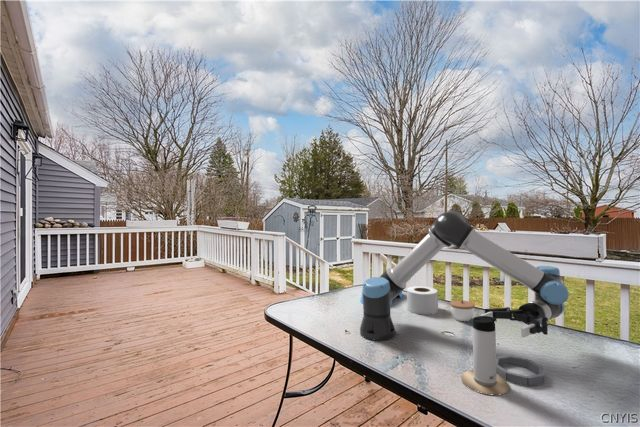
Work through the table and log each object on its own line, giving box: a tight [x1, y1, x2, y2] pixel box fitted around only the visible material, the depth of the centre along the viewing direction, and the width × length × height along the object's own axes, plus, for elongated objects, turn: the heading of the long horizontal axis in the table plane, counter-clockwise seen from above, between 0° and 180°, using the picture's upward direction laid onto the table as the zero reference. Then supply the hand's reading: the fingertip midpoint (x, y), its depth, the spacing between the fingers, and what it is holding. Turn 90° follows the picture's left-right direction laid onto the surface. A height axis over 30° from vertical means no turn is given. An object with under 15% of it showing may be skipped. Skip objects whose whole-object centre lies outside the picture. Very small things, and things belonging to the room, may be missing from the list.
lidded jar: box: [449, 299, 475, 322], centre depth 150 cm, size 11×11×9 cm
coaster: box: [460, 369, 510, 396], centre depth 97 cm, size 13×13×1 cm
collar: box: [496, 355, 545, 387], centre depth 102 cm, size 14×14×2 cm
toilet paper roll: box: [406, 285, 439, 316], centre depth 166 cm, size 16×15×11 cm
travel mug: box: [472, 315, 498, 387], centre depth 96 cm, size 6×7×20 cm
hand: (500, 325), depth 102 cm, fingers open, 13 cm apart
